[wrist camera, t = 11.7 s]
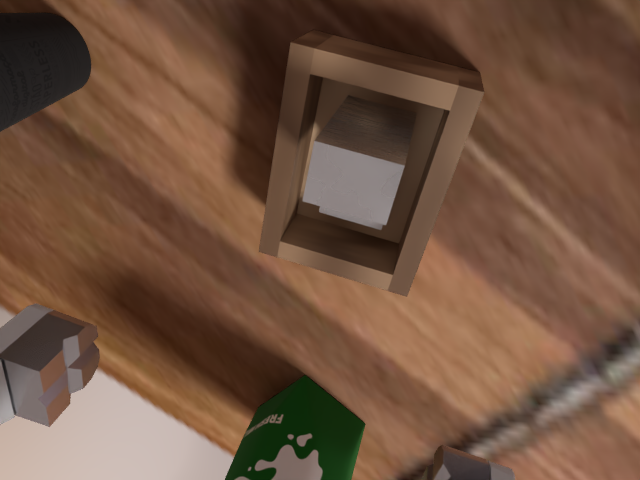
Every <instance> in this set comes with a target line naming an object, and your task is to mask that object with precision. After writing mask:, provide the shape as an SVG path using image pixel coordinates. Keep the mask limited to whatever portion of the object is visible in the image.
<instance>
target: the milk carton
mask: <svg viewBox="0 0 640 480" xmlns="http://www.w3.org/2000/svg"><path fill="white" fill-rule="evenodd" d="M364 427H365V423H364V422H363V421H361V420H360V419H359V418H358V417H356V416H355V415H354V414H353V413H351V412H350V411H349V410H348V409H347V408H345V407H344V406H343V405H342V404H340V403H339V402H338V401H337V400H335V399H334V398H333V397H332V396H330V395H329V394H328V393H327V392H326V391H324V390H323V389H322V388H321V387H319V386H318V385H317V384H316V383H314V382H313V381H312V380H311V379H310V378H308V377H307V376H306V375H304V376H303V377H302V378H300V379H299V380H297V381H296V382H294V383H293V384H291V385H290V386H289V387H287V388H286V389H284V390H283V391H281V392H280V393H278V394H277V395H276V396H274V397H273V398H271V399H270V400H268V401H267V402H265V403H264V404H263V405H261V406H260V407H258V409H257V411H256V413H255V415H254V417H253V419H252V421H251V423H250V425H249V427H248V429H247V431H246V433H245V435H244V437H243V439H242V441H241V443H240V446H239V448H238V450H237V452H236V455H235V457H234V459H233V462H232V464H231V466H230V469H229V471H228V473H227V476H226V478H225V480H351V478H352V474H353V470H354V466H355V463H356V459H357V455H358V451H359V447H360V443H361V439H362V435H363V431H364Z"/></svg>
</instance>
